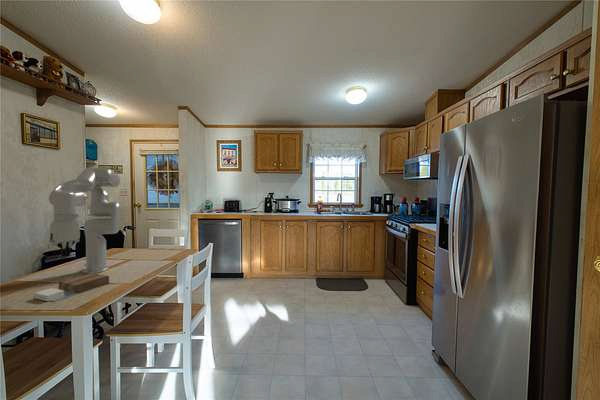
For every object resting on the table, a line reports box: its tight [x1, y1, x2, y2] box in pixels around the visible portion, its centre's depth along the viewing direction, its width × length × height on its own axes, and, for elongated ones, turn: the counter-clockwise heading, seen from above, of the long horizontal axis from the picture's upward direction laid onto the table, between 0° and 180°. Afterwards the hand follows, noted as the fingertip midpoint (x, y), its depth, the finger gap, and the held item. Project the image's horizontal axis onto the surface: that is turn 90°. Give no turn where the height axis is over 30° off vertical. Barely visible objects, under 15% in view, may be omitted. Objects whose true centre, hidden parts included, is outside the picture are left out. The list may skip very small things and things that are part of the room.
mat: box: [33, 288, 79, 303], centre depth 114 cm, size 15×9×1 cm, turn 71°
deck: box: [58, 273, 110, 295], centre depth 125 cm, size 14×14×4 cm
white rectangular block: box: [33, 287, 64, 302], centre depth 111 cm, size 9×6×2 cm, turn 72°
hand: (65, 256), depth 117 cm, fingers closed
